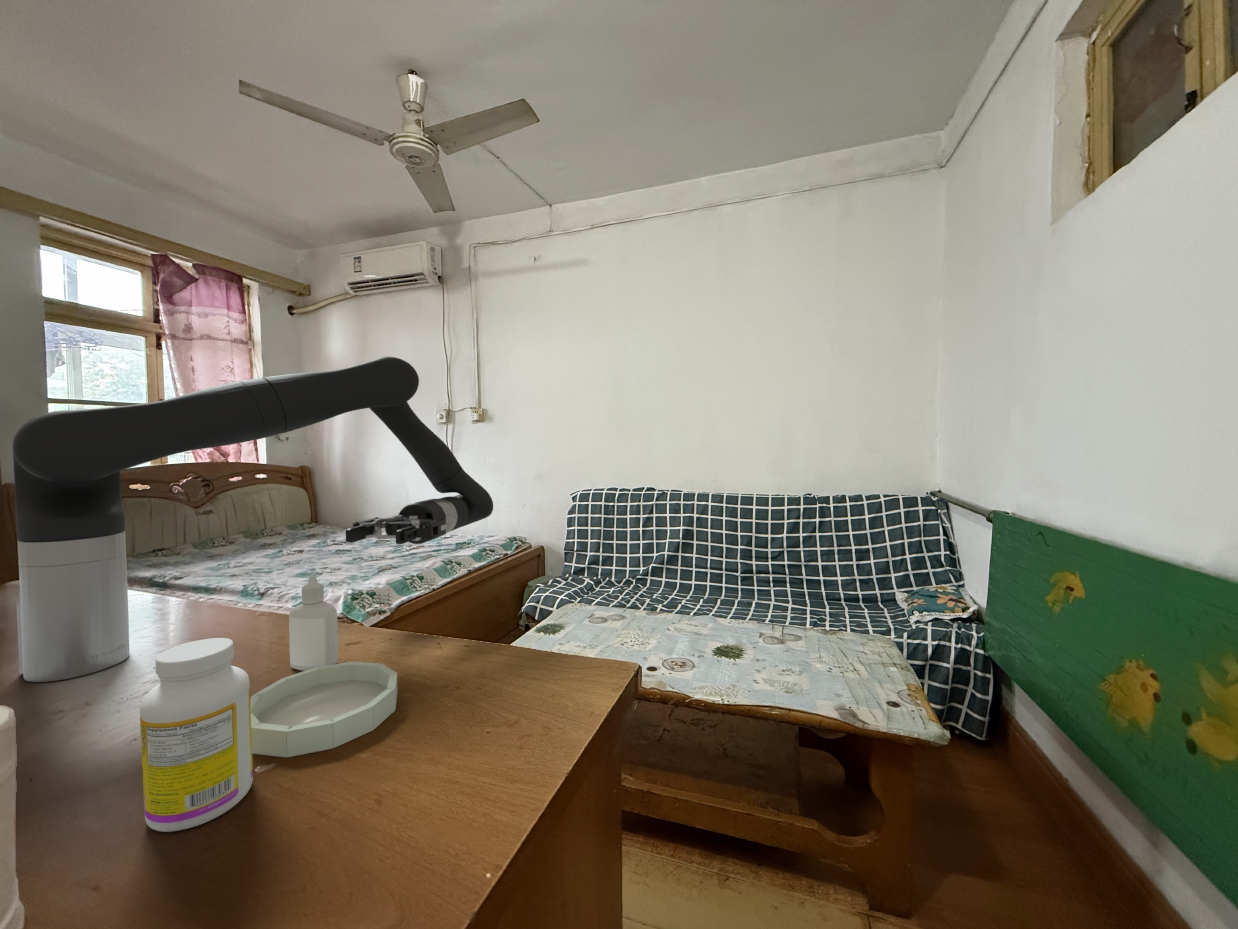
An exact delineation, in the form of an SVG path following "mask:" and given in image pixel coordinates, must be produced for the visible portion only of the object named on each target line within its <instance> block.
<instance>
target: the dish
mask: <svg viewBox="0 0 1238 929" xmlns="http://www.w3.org/2000/svg"><path fill="white" fill-rule="evenodd" d="M397 700H398V672H396V671H395V670H393V669H392V668H390V667H388V666H387V665H385V664H384V663H381V662H380V663H379V662H378V663H377V662H368V661H367V662H366V661H355V660H353V661H347V662H341V663H336V664H333V665H326V666H319V667H316V668H312V669H309V670H306V671H300V672H297V673H294V674H290V675H288V676H285V677H282V678H280V679H278V680H277V681H275V682H273V683H272V684H270V685H268V686H267V687H265V688H263V689H261V690H259V691H257V692H255V693H254V694H252V695H251V696H250V709H251V737H252V755H262V756H270V757H278V758H279V757H280V758H291V757H296V756H302V755H306V754H311V753H317V752H323V751H327V750H331V749H332V750H333V749H335V748H337V747H340V746H342V745H344V744H346V743H348V742H350V741H353V740H355V739H357V738H359V737H361V736H363V735H366V734H367V733H370V732H372V731H374V730H375V729H376V728H377V727H378V726H380V725H381V724H382V723H383V722H385V720H386V719H387V718H388V717H389V716H391V715H392V714H393V713H394V712H395V711H396V708H397V702H398V701H397Z"/></svg>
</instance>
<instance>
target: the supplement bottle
mask: <svg viewBox="0 0 1238 929" xmlns="http://www.w3.org/2000/svg"><path fill="white" fill-rule="evenodd" d="M234 656H235V648H234V641H233V640H232V639H230V638H226V637H211V638H204V639H198V640H192V641H189V642H184V643H181V644H178V645H175V646H173V647H170V648H168V649H165V650H164V651H161V652H160V653H159V654H158V655H157V656H156V657H155V674H156V676H157V677H158V678H159V680H160V681H159V683H158V684H157V685H155V686H154V687H153V688H152V689H150V690H149V691H148V692H147V693H146V695H145V696H144V697H143V699H142V700H141V702H140V706H139V722H140V724H139V725H140V726H139V727H140V728H139V729H140V746H141V748H140V749H141V767H142V785H143V792H142V793H143V811H144V821H145V822H146V825H147V826H148V828H150V829H151V830H154V831H156V832H163V833H171V832H177V831H183V830H188V829H190V828H191V829H192V828H195V827H199V826H200V825H203V824H205V823H208V822H210V821H213V820H214V819H216V818H218V817H220V816H221V815H223V814H225V813H227V812H228V811H230V810H231V809H233V808H234V807H235V806H236V805H238V803H239V802H241V800H243V798H244V797H245V796H246V795H247V794H248V792H249V790H250V789H251V787H252V784H253V780H254V778H253V777H254V775H253V774H254V772H253V770H254V768H253V767H254V766H253V764H254V763H253V754H252V737H251V709H250V698H251V684H250V682H251V680H250V677H249V675H248V673H247V672H246V671H245V670H244V669H242V668H240V667H238V666H236V665H232V661H233V659H234Z"/></svg>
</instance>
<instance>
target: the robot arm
mask: <svg viewBox="0 0 1238 929" xmlns="http://www.w3.org/2000/svg"><path fill="white" fill-rule="evenodd" d="M419 378H420V377H419V375H418V372H417V371H416V369H415V367H414V366H412V364H410V363H409V362H408V361H406V360H404V359H402V358H399V357H394V356H382V357H379V358H378V357H377V358H375V359H372V360H368V361H366V362H364V363H361V364H357V365H353V366H350V367H345V368H340V369H334V370H327V371H311V372H298V373H289V374H280V375H279V374H278V375H274V376H273V375H272V376H264V377H258V378H257V377H256V378H252V379H245V380H237V381H232V382H229V383H223V384H220V385H219V384H218V385H216V386H210V387H206V388H202V389H199V390H195V391H192V392H189V393H185V394H182V395H179V396H175V397H171V398H167V399H164V400H159V401H154V402H152V401H151V402H147V403H138V404H130V405H129V404H128V405H119V406H111V407H101V408H100V407H98V408H88V409H64V410H54V411H50V412H46V413H42V414H40V415H37V416H34V417H33V418H30V419H29V420H28V421H26V422H25V423H23V424H22V426H20V428H19V429H18V430H17V432H16V433H15V435H14V437H13V439H12V440H13V441H12V456H13V458H12V462H13V474H14V478H13V479H14V496H15V497H14V498H15V503H14V506H15V507H14V509H15V527H16V529H15V530H16V540H17V541H16V542H17V557H18V558H17V561H18V578H19V599H18V600H17V601H16V618H17V620H16V621H17V622H16V623H17V625H16V626H17V641H18V642H17V646H18V667H19V674H23V676H22V677H23V679H24V680H23V681H26V682H30V683H31V682H32V683H43V682H44V683H46V682H55V681H61V680H62V681H63V680H67V679H72V678H77V677H81V676H85V675H89V674H93V673H96V672H99V671H101V670H102V671H103V670H104V669H108V668H110V667H113V666H115V665H118V664H120V663H121V662H123V661H125V660H126V659H128V658H129V656H130V627H129V626H130V624H129V622H130V621H129V620H130V619H129V597H128V596H129V594H128V592H129V591H128V568H127V565H128V564H127V544H126V543H127V541H126V539H127V538H126V531H125V530H126V516H125V515H126V514H125V513H126V512H125V509H124V503H123V499H122V498H123V496H122V484H121V483H122V481H121V472H122V471H126V470H127V469H130V468H133V467H136V466H140V465H143V464H146V463H149V462H152V461H155V460H159V459H161V458H165V457H169V456H172V455H173V456H174V455H176V454H181V453H185V452H190V451H195V450H203V449H211V448H218V447H225V446H231V445H236V444H243V443H246V442H251V441H257V440H261V439H266V438H270V437H273V436H277V435H281V434H287V433H289V432H292V431H295V430H296V431H297V430H299V429H302V428H305V427H309V426H312V425H315V424H317V423H321V422H324V421H326V420H329V419H332V418H335V417H338V416H340V415H342V414H346V413H350V412H353V411H358V410H359V411H360V410H364V409H369V410H370V411H371V412H373V414H374V415H375V416H377V418H378V419H379V420H380V421H381V422H382V423H383V424H384V425H385V426H386V427H387V428H388V429H389V431H391V433H392V434H393V435H394V436H395V437H396V438H397V440H398V441H399V442H400V443H401V445H402V446H404V448H405V449H406V451H407V452H408V453H409V454H410V455H411V457H412V458H413V460H414V461H415V462H416V463H417V465H418V466H419V468H420V470H422V473H423V474H424V475H425V476H426V478H427V479H428V481H429V482H430V484H431V485H432V486H433V488H434V490H436V491H437V492H438V493H440V494H449V493H456V494H457V495H454V496H452V495H451V496H444V497H440V498H431V499H426V500H425V499H424V500H420V501H416V502H413V503H409V504H406V505H405V506H404V507H403V508H401V510H400V512H399V513H398V514H394V515H391V516H390V517H382V518H381V517H377V516H375V517H373V518H369V519H365V520H359V521H355V522H353V523H352V527H349V528H347V529H346V530H345V541H346V543H348V544H349V543H354V542H358V541H359V542H360V541H362V540H367V539H372V538H375V539H376V540H379V541H380V540H386V539H395V544H396V545H404V544H406V543H410V544H411V545H412V544H413V545H421V544H425V543H427V542H430V541H432V540H435V539H438V538H441V537H443V536H444V535H446V534H448V533H450V532H453V531H454V530H457V529H460V528H463V527H465V526H469V525H470V524H471V525H472V523H477V522H479V521H481V520H484V519H487V518H488V517H491V515H492V514H493V511H494V502H493V498H492V497H491V495H490V493H489V492H488V490H486V489H485V488H484V487H483V485H481V484H480V483H479V482H477V481H476V480H475V479H474V478H473V477H471V475H469V474H468V473H467V472H466V471H465V470H464V469H463V466H462V465H461V464H460V462H459V461H458V459H457V457H456V456H455V455H454V452H452V451H451V449H450V447H449V446H448V445H447V444H446V443H445V442H444V441H443V440H442V439H441V438H440V437H439V436H438V435H437V434H435V432H433V431H432V430H431V429H430V428H429V427H428V426H427V425H426V424H425V423H424V422H423V421H422V420H421V419H420V417H418V416H417V414H416V413H415V412H414V410H413V409H412V408H411V406H410V404H409V402H408V401H409V400H411V399H412V398H413V397H414V396H415V394H416V393H417V391H418V388H419V385H420V379H419ZM382 529H384V531H385V534H382Z"/></svg>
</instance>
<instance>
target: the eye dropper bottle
mask: <svg viewBox="0 0 1238 929" xmlns="http://www.w3.org/2000/svg"><path fill="white" fill-rule="evenodd" d="M324 586H325V585H324V584H323V583H320V582H318V579H317V574H311V575H309V576H308V581H307V584H305V585H304V586H302V587H301V603H300V604H298V605H296V606H294V607H293V608H292V609H291V610H290V611H289V618H288V619H289V626H288V628H289V665H290V667H291V668H292V669H294V670H297V671H301V672H303V671H306V670H309V669H312V668H316V667H319V666H326V665H333V664H338V661H339V647H338V645H339V644H338V643H339V642H338V638H339V635H338V632H339V631H338V610H337V608H336V607H335V606H334V605H333V604H331V603H329V602H327V601H324V600H325V590H324V589H325V587H324Z"/></svg>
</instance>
